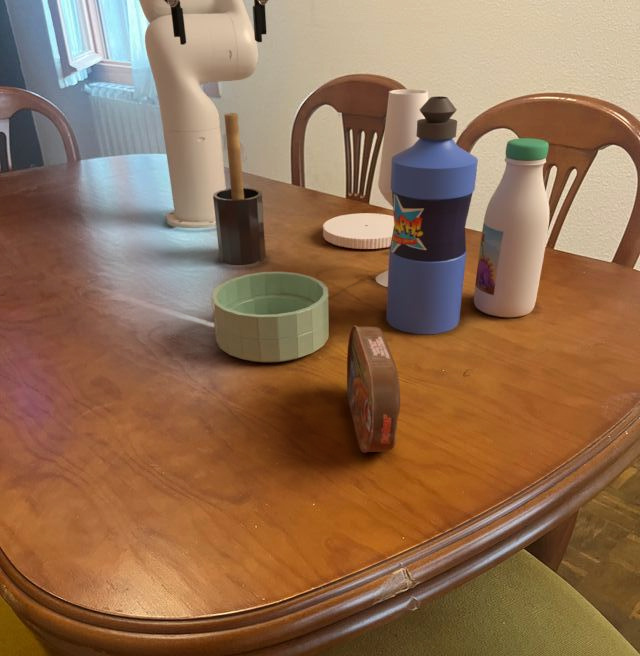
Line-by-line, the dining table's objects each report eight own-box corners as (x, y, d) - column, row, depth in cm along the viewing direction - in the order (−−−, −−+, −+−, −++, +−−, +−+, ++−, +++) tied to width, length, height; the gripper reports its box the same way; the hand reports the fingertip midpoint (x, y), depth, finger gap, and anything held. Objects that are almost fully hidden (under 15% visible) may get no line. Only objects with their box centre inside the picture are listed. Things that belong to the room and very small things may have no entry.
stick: (242, 254, 102) (230, 112, 91) (251, 256, 101) (240, 113, 90) (234, 257, 101) (221, 114, 89) (243, 259, 100) (231, 115, 89)
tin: (344, 385, 69) (344, 310, 64) (374, 383, 69) (376, 309, 64) (364, 472, 56) (366, 388, 52) (400, 470, 57) (406, 386, 52)
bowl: (265, 308, 86) (262, 264, 82) (349, 333, 79) (350, 285, 76) (193, 347, 77) (187, 299, 73) (282, 378, 70) (280, 326, 67)
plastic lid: (305, 240, 109) (305, 225, 107) (366, 222, 116) (366, 208, 115) (364, 261, 100) (365, 245, 98) (426, 241, 107) (427, 225, 106)
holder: (240, 250, 105) (234, 185, 100) (275, 258, 102) (271, 191, 96) (210, 262, 100) (202, 195, 95) (246, 271, 97) (240, 202, 91)
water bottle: (416, 341, 77) (433, 107, 63) (370, 314, 84) (376, 96, 70) (476, 322, 81) (503, 98, 67) (427, 298, 88) (443, 89, 74)
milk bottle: (536, 298, 87) (565, 136, 76) (531, 322, 81) (562, 149, 70) (477, 292, 89) (497, 133, 78) (468, 314, 83) (489, 146, 72)
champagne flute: (390, 267, 97) (398, 86, 84) (431, 276, 94) (445, 90, 81) (366, 282, 93) (370, 93, 80) (408, 292, 90) (419, 96, 76)
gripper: (277, -126, 79) (284, 39, 89) (131, -126, 77) (154, 43, 87) (284, -136, 73) (291, 42, 83) (126, -136, 71) (151, 46, 80)
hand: (221, 42), depth 85 cm, fingers open, 9 cm apart
